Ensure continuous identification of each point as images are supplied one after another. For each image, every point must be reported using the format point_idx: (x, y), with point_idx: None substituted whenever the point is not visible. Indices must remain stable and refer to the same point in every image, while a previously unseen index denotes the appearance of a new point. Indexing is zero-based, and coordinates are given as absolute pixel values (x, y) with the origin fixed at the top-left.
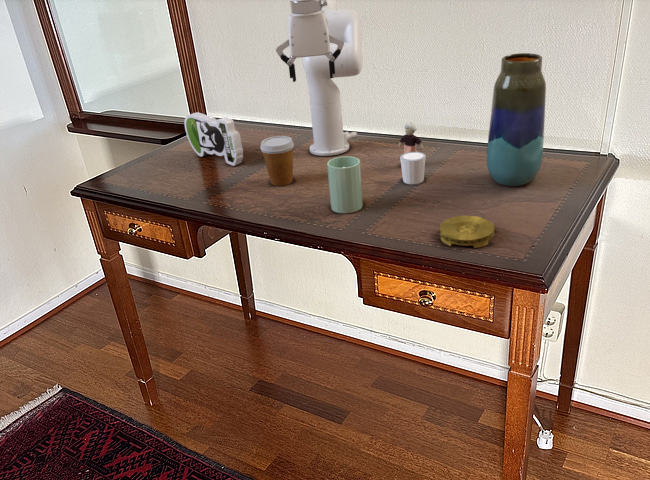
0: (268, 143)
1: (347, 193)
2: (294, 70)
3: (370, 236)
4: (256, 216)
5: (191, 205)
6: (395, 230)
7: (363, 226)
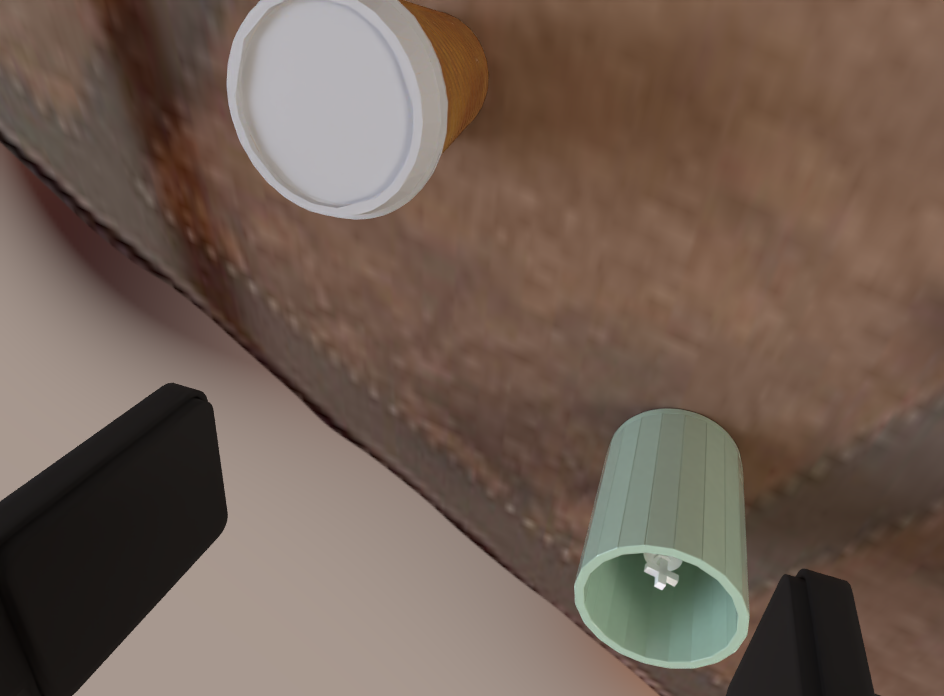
0: (275, 108)
1: None
2: (112, 651)
3: None
4: (343, 385)
5: (106, 195)
6: None
7: None
